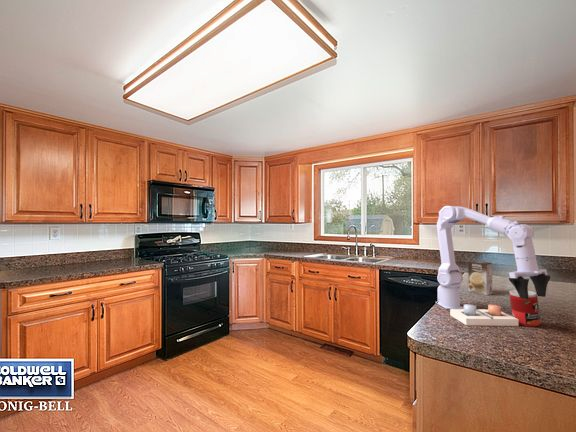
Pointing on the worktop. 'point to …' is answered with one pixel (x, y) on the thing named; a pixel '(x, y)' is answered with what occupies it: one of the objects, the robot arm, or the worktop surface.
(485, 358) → the worktop surface
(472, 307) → the pale blue rounded piece
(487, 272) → the coffee box
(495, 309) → the orange rounded piece
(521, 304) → the canned food
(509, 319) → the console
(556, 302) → the worktop surface
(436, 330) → the worktop surface
